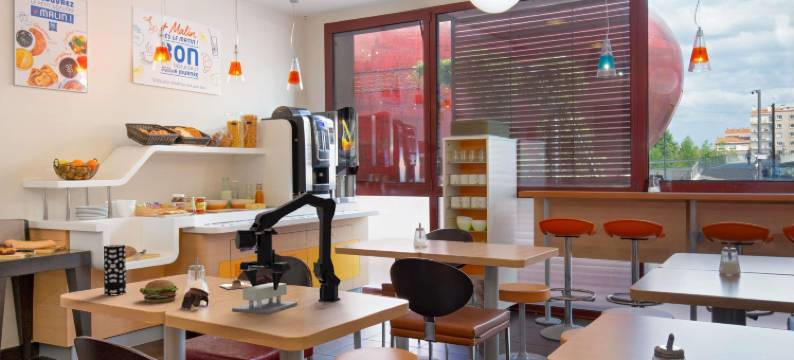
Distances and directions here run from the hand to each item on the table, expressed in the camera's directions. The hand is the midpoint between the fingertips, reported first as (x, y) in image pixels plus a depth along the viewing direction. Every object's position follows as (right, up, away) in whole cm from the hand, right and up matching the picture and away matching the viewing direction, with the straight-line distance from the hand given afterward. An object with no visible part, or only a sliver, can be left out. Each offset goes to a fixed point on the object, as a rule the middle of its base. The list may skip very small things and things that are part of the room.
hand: (265, 289), depth 246 cm
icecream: (-8, -7, +39) cm, 41 cm away
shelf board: (0, -3, 0) cm, 3 cm away
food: (-45, -7, +18) cm, 50 cm away
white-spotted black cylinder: (-69, -7, +34) cm, 77 cm away
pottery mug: (-26, -7, +3) cm, 28 cm away
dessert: (-22, -7, +48) cm, 53 cm away
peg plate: (0, -7, 0) cm, 7 cm away
